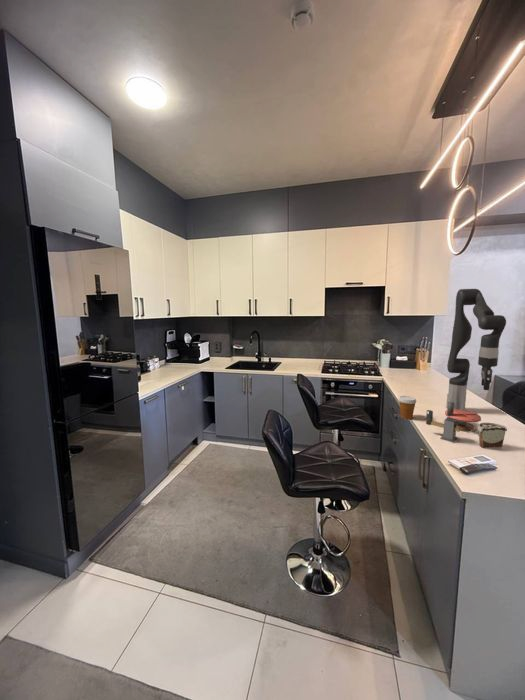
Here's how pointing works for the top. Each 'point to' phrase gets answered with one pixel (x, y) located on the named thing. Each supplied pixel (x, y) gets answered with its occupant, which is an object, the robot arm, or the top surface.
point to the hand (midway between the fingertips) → (485, 387)
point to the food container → (491, 435)
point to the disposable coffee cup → (407, 406)
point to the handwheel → (461, 415)
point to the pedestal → (465, 426)
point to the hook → (430, 422)
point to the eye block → (449, 430)
